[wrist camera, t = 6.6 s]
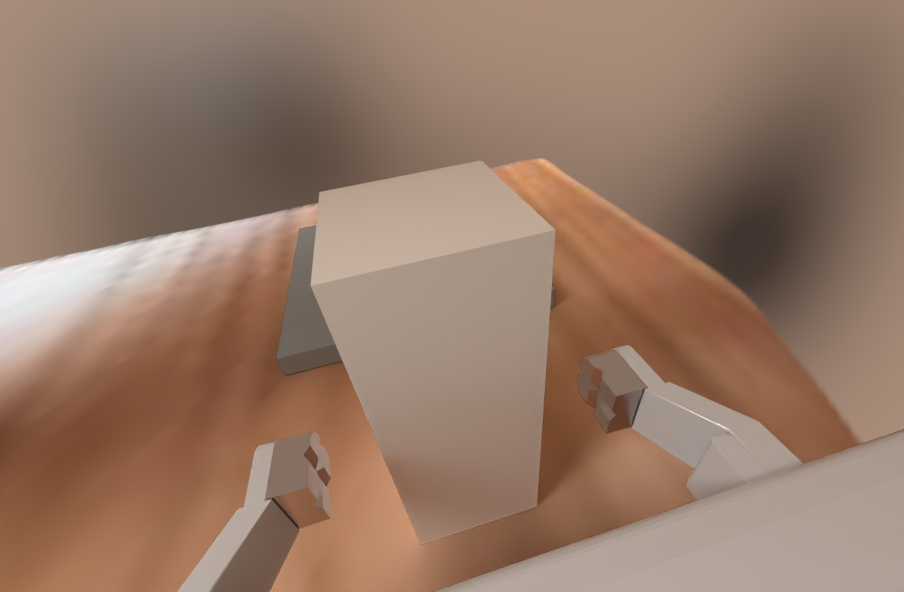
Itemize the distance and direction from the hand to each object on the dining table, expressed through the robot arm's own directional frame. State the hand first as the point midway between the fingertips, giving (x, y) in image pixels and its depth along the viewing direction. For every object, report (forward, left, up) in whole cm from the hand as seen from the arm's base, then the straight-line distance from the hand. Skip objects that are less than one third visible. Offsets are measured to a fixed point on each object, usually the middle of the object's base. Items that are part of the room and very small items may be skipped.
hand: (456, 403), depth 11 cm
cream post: (0, +2, -8) cm, 8 cm away
